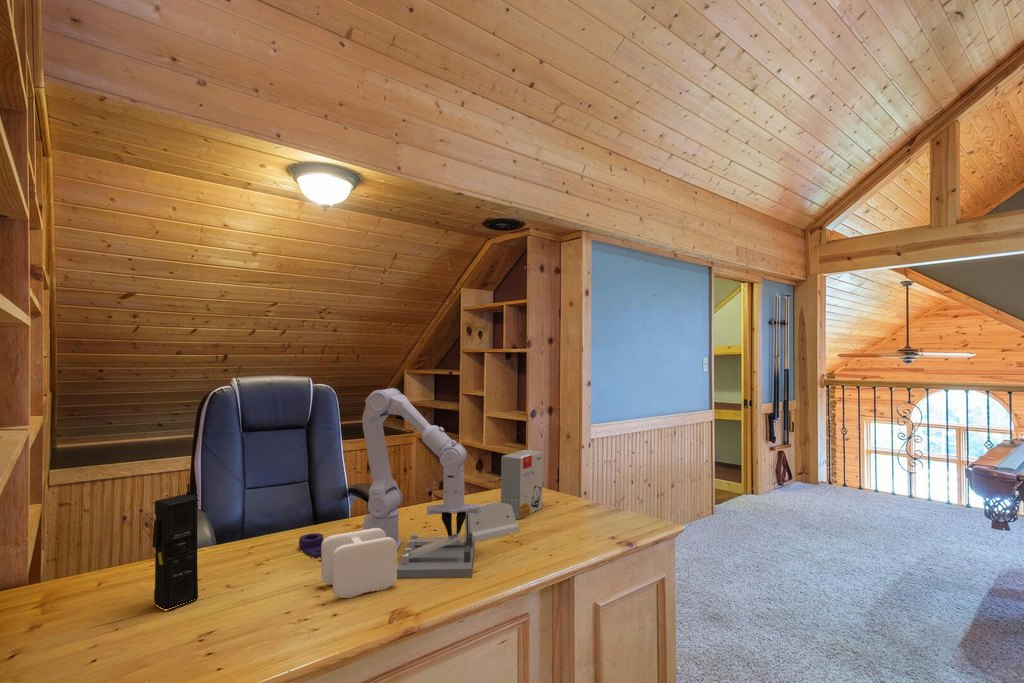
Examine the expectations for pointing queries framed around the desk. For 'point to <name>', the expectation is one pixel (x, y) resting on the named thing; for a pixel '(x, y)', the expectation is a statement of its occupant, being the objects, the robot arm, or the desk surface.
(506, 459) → the hard drive box
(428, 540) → the strip
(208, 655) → the desk surface
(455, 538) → the front strap
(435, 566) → the base plate
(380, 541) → the cable organizer
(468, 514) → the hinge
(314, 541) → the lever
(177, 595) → the portable radio
